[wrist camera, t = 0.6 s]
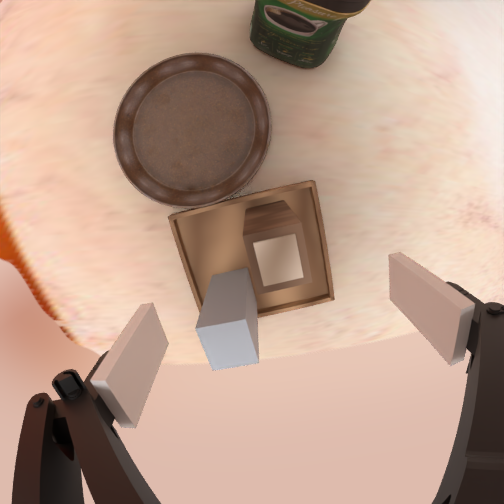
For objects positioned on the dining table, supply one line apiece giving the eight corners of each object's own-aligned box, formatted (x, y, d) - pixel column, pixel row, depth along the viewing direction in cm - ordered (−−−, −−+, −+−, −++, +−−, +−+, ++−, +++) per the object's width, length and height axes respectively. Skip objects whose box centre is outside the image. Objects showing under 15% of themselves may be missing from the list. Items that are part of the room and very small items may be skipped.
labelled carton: (283, 199, 33) (301, 223, 21) (292, 240, 34) (313, 283, 23) (245, 208, 33) (242, 236, 22) (255, 249, 35) (257, 295, 23)
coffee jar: (339, 32, 26) (404, -47, 9) (316, 78, 29) (379, 9, 11) (267, 1, 25) (278, -98, 7) (240, 46, 27) (229, -49, 10)
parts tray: (312, 180, 32) (315, 181, 31) (331, 294, 37) (334, 299, 35) (171, 214, 34) (167, 217, 32) (206, 321, 38) (205, 327, 37)
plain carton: (247, 267, 35) (245, 319, 24) (256, 302, 37) (259, 362, 25) (212, 275, 36) (195, 328, 24) (223, 309, 37) (212, 370, 26)
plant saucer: (216, 232, 35) (213, 238, 32) (100, 161, 32) (88, 162, 29) (298, 107, 30) (303, 102, 27) (173, 40, 27) (166, 31, 24)
